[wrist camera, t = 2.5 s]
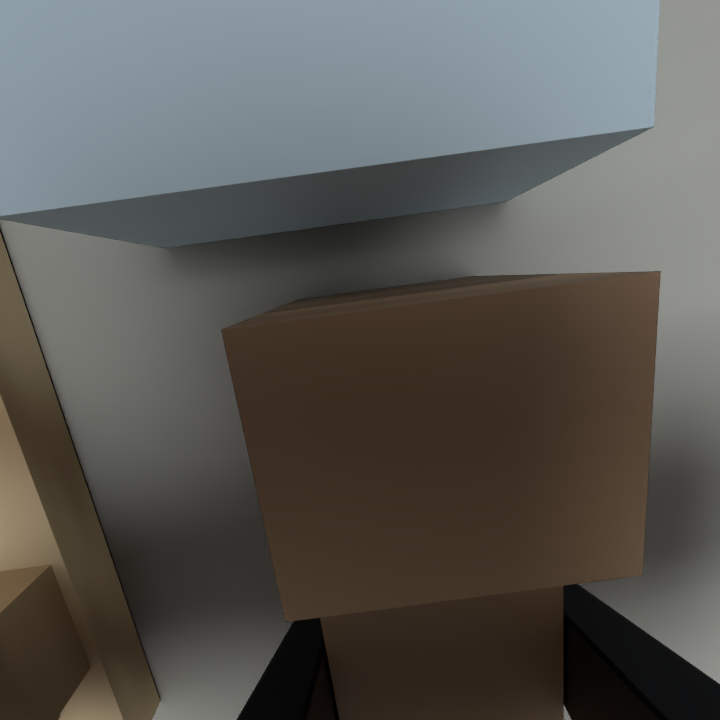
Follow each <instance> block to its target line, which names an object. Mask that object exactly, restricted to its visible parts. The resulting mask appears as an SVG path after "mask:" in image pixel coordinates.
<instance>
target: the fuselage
mask: <svg viewBox="0 0 720 720" xmlns="http://www.w3.org/2000/svg"><path fill="white" fill-rule="evenodd" d="M660 272H661V271H653V272H614V273H576V274H537V275H499V276H471V277H463V278H456V279H449V280H441V281H434V282H426V283H419V284H411V285H404V286H396V287H389V288H381V289H374V290H366V291H359V292H351V293H344V294H336V295H329V296H321V297H314V298H306V299H299V300H296V301H294V302H291V303H289V304H286V305H283V306H281V307H278V308H276V309H273V310H271V311H268V312H266V313H263V314H260V315H258V316H255V317H253V318H250V319H248V320H245V321H243V322H240V323H238V324H235V325H232V326H230V327H227V328H225V329H222V330H221V332H222V336H223V341H224V345H225V350H226V354H227V359H228V363H229V368H230V372H231V377H232V382H233V386H234V391H235V395H236V400H237V404H238V409H239V413H240V418H241V422H242V427H243V432H244V436H245V441H246V445H247V450H248V454H249V459H250V463H251V468H252V472H253V477H254V482H255V486H256V491H257V495H258V500H259V504H260V509H261V513H262V518H263V522H264V527H265V532H266V536H267V541H268V545H269V550H270V554H271V559H272V563H273V568H274V572H275V577H276V582H277V586H278V591H279V595H280V600H281V604H282V609H283V613H284V618H285V622H290V621H298V620H305V619H313V618H320V621H321V626H322V631H323V636H324V642H325V647H326V652H327V657H328V662H329V668H330V673H331V678H332V683H333V688H334V694H335V699H336V704H337V709H338V714H339V720H563V586H564V585H572V584H579V583H587V582H595V581H602V580H610V579H618V578H625V577H633V576H640V575H643V559H644V542H645V525H646V508H647V491H648V474H649V458H650V441H651V424H652V407H653V390H654V373H655V356H656V339H657V323H658V306H659V289H660Z"/></svg>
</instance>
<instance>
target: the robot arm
mask: <svg viewBox="0 0 720 720" xmlns="http://www.w3.org/2000/svg"><path fill="white" fill-rule="evenodd" d="M563 704H564V706H565V708H566V710H567V711H568V713H569V715H570V717H571V719H572V720H720V684H719V683H717V682H716V681H715V680H713V679H712V678H710V677H709V676H708V675H706V674H705V673H703V672H702V671H700V670H699V669H698V668H696V667H695V666H693V665H692V664H690V663H689V662H688V661H686V660H685V659H683V658H682V657H680V656H679V655H678V654H676V653H675V652H673V651H672V650H671V649H669V648H668V647H666V646H665V645H663V644H662V643H661V642H659V641H658V640H656V639H655V638H653V637H652V636H651V635H649V634H648V633H646V632H645V631H643V630H642V629H641V628H639V627H638V626H636V625H635V624H634V623H632V622H631V621H629V620H628V619H626V618H625V617H624V616H622V615H621V614H619V613H618V612H616V611H615V610H614V609H612V608H611V607H609V606H608V605H606V604H605V603H604V602H602V601H601V600H599V599H598V598H596V597H595V596H594V595H592V594H591V593H589V592H588V591H587V590H585V589H584V588H582V587H581V586H579V585H578V584H572V585H564V586H563ZM237 720H339V714H338V709H337V704H336V699H335V694H334V688H333V683H332V678H331V673H330V668H329V662H328V657H327V652H326V647H325V642H324V636H323V631H322V626H321V621H320V618H313V619H305V620H298V621H293V623H292V625H291V627H290V628H289V630H288V632H287V633H286V635H285V637H284V639H283V640H282V642H281V644H280V646H279V647H278V649H277V651H276V653H275V654H274V656H273V658H272V659H271V661H270V663H269V665H268V666H267V668H266V670H265V672H264V673H263V675H262V677H261V679H260V680H259V682H258V684H257V685H256V687H255V689H254V691H253V692H252V694H251V696H250V698H249V699H248V701H247V703H246V704H245V706H244V708H243V710H242V711H241V713H240V715H239V717H238V718H237Z"/></svg>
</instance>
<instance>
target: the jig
mask: <svg viewBox="0 0 720 720" xmlns="http://www.w3.org/2000/svg"><path fill="white" fill-rule="evenodd" d="M159 703H160V699H159V696H158V693H157V690H156V687H155V684H154V681H153V679H152V676H151V673H150V670H149V667H148V664H147V661H146V658H145V655H144V652H143V649H142V646H141V643H140V640H139V637H138V635H137V632H136V629H135V626H134V623H133V620H132V617H131V614H130V611H129V608H128V605H127V602H126V599H125V596H124V593H123V591H122V588H121V585H120V582H119V579H118V576H117V573H116V570H115V567H114V564H113V561H112V558H111V555H110V552H109V549H108V547H107V544H106V541H105V538H104V535H103V532H102V529H101V526H100V523H99V520H98V517H97V514H96V511H95V508H94V506H93V503H92V500H91V497H90V494H89V491H88V488H87V485H86V482H85V479H84V476H83V473H82V470H81V467H80V464H79V462H78V459H77V456H76V453H75V450H74V447H73V444H72V441H71V438H70V435H69V432H68V429H67V426H66V423H65V420H64V418H63V415H62V412H61V409H60V406H59V403H58V400H57V397H56V394H55V391H54V388H53V385H52V382H51V379H50V376H49V374H48V371H47V368H46V365H45V362H44V359H43V356H42V353H41V350H40V347H39V344H38V341H37V338H36V335H35V332H34V330H33V327H32V324H31V321H30V318H29V315H28V312H27V309H26V306H25V303H24V300H23V297H22V294H21V291H20V289H19V286H18V283H17V280H16V277H15V274H14V271H13V268H12V265H11V262H10V259H9V256H8V253H7V250H6V247H5V245H4V242H3V239H2V236H1V233H0V720H152V719H153V716H154V714H155V712H156V710H157V707H158V705H159Z"/></svg>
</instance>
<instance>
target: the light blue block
mask: <svg viewBox="0 0 720 720" xmlns="http://www.w3.org/2000/svg"><path fill="white" fill-rule="evenodd" d="M659 8H660V0H0V219H1V220H7V221H13V222H18V223H24V224H30V225H36V226H41V227H47V228H53V229H58V230H64V231H70V232H76V233H81V234H87V235H93V236H98V237H104V238H110V239H115V240H121V241H127V242H133V243H138V244H144V245H150V246H155V247H161V248H169V247H177V246H184V245H191V244H199V243H206V242H213V241H221V240H228V239H235V238H243V237H250V236H257V235H264V234H272V233H279V232H286V231H294V230H301V229H308V228H316V227H323V226H330V225H338V224H345V223H352V222H360V221H367V220H374V219H382V218H389V217H396V216H404V215H411V214H418V213H425V212H433V211H440V210H447V209H455V208H462V207H469V206H477V205H484V204H491V203H499V202H506V201H508V200H510V199H512V198H514V197H516V196H518V195H520V194H522V193H524V192H526V191H528V190H530V189H532V188H534V187H536V186H538V185H540V184H542V183H544V182H546V181H548V180H550V179H552V178H554V177H556V176H558V175H560V174H562V173H564V172H566V171H568V170H570V169H571V168H573V167H575V166H577V165H579V164H581V163H583V162H585V161H587V160H589V159H591V158H593V157H595V156H597V155H599V154H601V153H603V152H605V151H607V150H609V149H611V148H613V147H615V146H617V145H619V144H621V143H623V142H625V141H627V140H629V139H631V138H633V137H635V136H637V135H639V134H641V133H643V132H645V131H647V130H649V129H651V128H653V127H654V116H655V95H656V73H657V52H658V30H659Z"/></svg>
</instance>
